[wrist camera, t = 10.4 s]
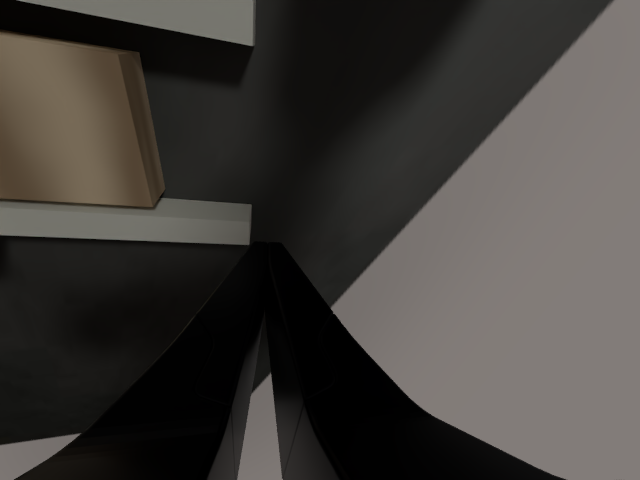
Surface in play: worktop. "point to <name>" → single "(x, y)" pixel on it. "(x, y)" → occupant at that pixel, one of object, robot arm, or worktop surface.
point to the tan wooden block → (75, 124)
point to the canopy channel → (167, 214)
